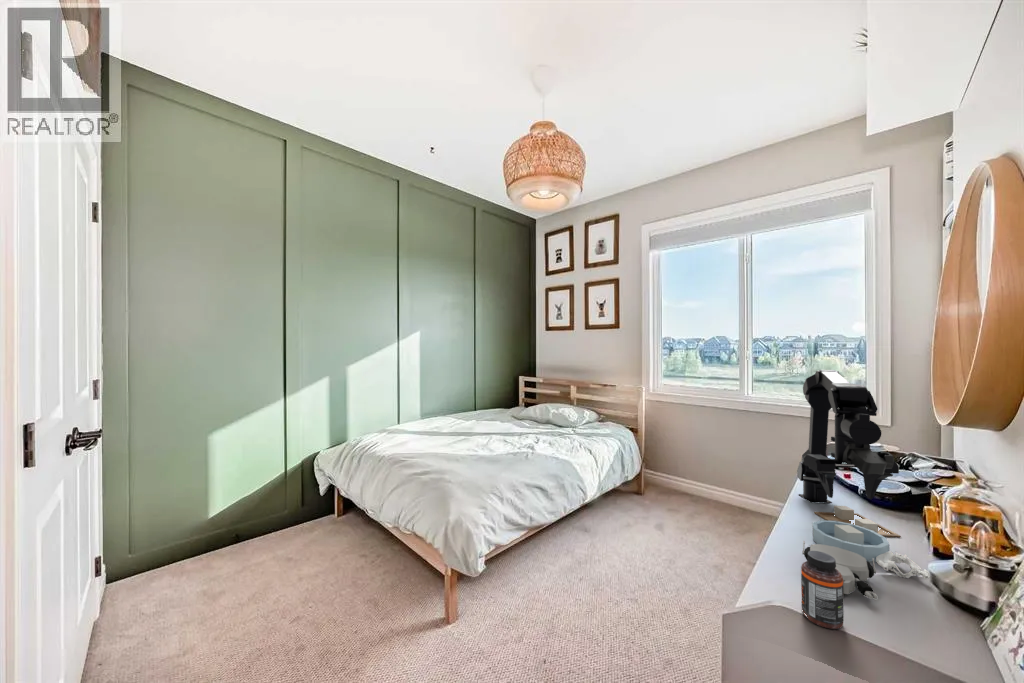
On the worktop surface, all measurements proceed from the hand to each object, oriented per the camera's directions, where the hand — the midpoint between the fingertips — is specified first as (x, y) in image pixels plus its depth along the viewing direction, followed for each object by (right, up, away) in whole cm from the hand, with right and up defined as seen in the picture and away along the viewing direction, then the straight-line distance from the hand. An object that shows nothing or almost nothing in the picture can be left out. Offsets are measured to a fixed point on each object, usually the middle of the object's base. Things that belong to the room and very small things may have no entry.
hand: (849, 498), depth 98 cm
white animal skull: (0, -12, -13) cm, 17 cm away
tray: (+10, -12, +11) cm, 19 cm away
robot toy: (-16, -12, -15) cm, 25 cm away
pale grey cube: (+10, -11, +6) cm, 16 cm away
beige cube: (-2, -11, -2) cm, 11 cm away
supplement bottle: (-29, -11, -28) cm, 41 cm away
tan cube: (+11, -12, +15) cm, 22 cm away
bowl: (-2, -12, -2) cm, 12 cm away
